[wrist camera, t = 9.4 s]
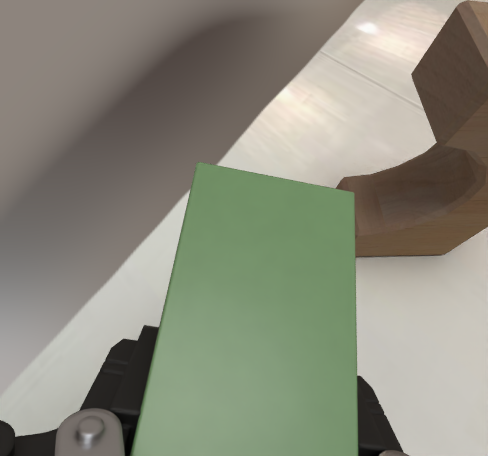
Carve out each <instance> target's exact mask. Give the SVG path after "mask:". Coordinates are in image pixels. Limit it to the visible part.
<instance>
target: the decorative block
mask: <svg viewBox="0 0 488 456" xmlns="http://www.w3.org/2000/svg"><path fill="white" fill-rule="evenodd" d="M412 79H413V82H414V84H415V87H416V89H417V92H418V95H419V97H420V100H421V102H422V105H423V108H424V110H425V113H426V115H427V118H428V121H429V123H430V126H431V128H432V131H433V134H434V136H435V139H436V141H437V143H436V144H435V145H433V146H432V147H431V148H430V149H429V150H428V151H426V152H425V153H423V154H421V155H419V156H417V157H415V158H413V159H411V160H409V161H407V162H405V163H403V164H401V165H399V166H396V167H393V168H390V169H386V170H383V171H380V172H377V173H374V174H371V175H361V176H351V177H344V178H343V179H342V180H341V181H340V183H339V184H338V186H337V187H336V189H339V190H344V191H349V192H353V193H354V200H355V256H396V255H441V254H446V253H447V252H449V251H450V250H452V249H454V248H455V247H457V246H458V245H460V244H461V243H463V242H465V241H466V240H468V239H469V238H471V237H472V236H474V235H476V234H477V233H479V232H480V231H482V230H483V229H485V228H486V227H488V2H478V1H469V0H467V1H464V2H462V3H460V4H459V5H458V6H457V7H456V8H455V10H454V11H453V13H452V14H451V16H450V17H449V19H448V20H447V22H446V23H445V25H444V26H443V28H442V29H441V31H440V32H439V34H438V35H437V37H436V38H435V40H434V41H433V43H432V44H431V45H430V47H429V48H428V50H427V51H426V53H425V54H424V56H423V57H422V59H421V60H420V62H419V63H418V65H417V66H416V68H415V69H414V71H413V72H412Z"/></svg>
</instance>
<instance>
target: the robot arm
mask: <svg viewBox="0 0 488 456" xmlns="http://www.w3.org/2000/svg"><path fill="white" fill-rule="evenodd" d="M158 330H159V327H153V326H147V325H144V327H143V329H142V331H141V334H140V336H139V339H138V341H135V340H129V339H122V340H121V341H120V342H119V343H117V344H116V345H115V346H113V347H112V348H111V350H110V352H109V354H108V356H107V358H106V360H105V362H104V363H103V365H102V367H101V369H100V372H99V373H98V375H97V377H96V379H95V381H94V383H93V385H92V387H91V389H90V391H89V393H88V395H87V397H86V399H85V400H84V402H83V404H82V406H81V408H80V410H79V411H78V412H76V413H74V414H72V415H70V416H69V417H68V418H66V419H65V420H64V421H63V422H62V423H61V425H60V426H59V428H57V429H55V430H53V431H49V432H45V433H40V434H33V435H25V436H17V437H15V432H14V429H13V428H12V427H11V426H10V425H9V424H8V423H6V422H4V421H1V420H0V456H130V453H131V449H132V445H133V440H134V436H135V431H136V427H137V423H138V418H139V416H140V414H141V405H142V401H143V396H144V392H145V388H146V383H147V379H148V374H149V370H150V366H151V361H152V357H153V352H154V348H155V344H156V339H157V335H158ZM357 404H358V456H409V455H407V454H405V453H404V452H403V450H402V448H401V446H400V444H399V442H398V440H397V438H396V436H395V434H394V432H393V430H392V428H391V425H390V423H389V421H388V419H387V417H386V415H384V411H383V409H382V407H381V405H380V404H379V401H378V399H377V397H376V395H375V393H374V391H373V389H372V388H371V386H370V385H369V384H368V383H367V382H366V381H365V380H364V379H363V378H362V377H361V376H357Z"/></svg>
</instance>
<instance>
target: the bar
mask: <svg viewBox="0 0 488 456" xmlns="http://www.w3.org/2000/svg"><path fill="white" fill-rule="evenodd" d="M130 456H358V404H357V336H356V268H355V200H354V193H353V192H349V191H344V190H339V189H334V188H329V187H324V186H319V185H313V184H308V183H303V182H298V181H293V180H288V179H283V178H278V177H273V176H268V175H263V174H257V173H252V172H247V171H242V170H237V169H232V168H227V167H222V166H217V165H212V164H207V163H202V162H198V163H197V164H196V168H195V172H194V177H193V181H192V186H191V190H190V194H189V199H188V203H187V208H186V212H185V216H184V221H183V225H182V229H181V234H180V238H179V243H178V247H177V251H176V256H175V260H174V265H173V269H172V273H171V278H170V282H169V287H168V291H167V295H166V300H165V304H164V309H163V313H162V317H161V322H160V326H159V330H158V335H157V339H156V344H155V348H154V352H153V357H152V361H151V366H150V370H149V374H148V379H147V383H146V388H145V392H144V396H143V401H142V405H141V414H140V416H139V418H138V423H137V427H136V431H135V436H134V440H133V445H132V449H131V453H130Z"/></svg>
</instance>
